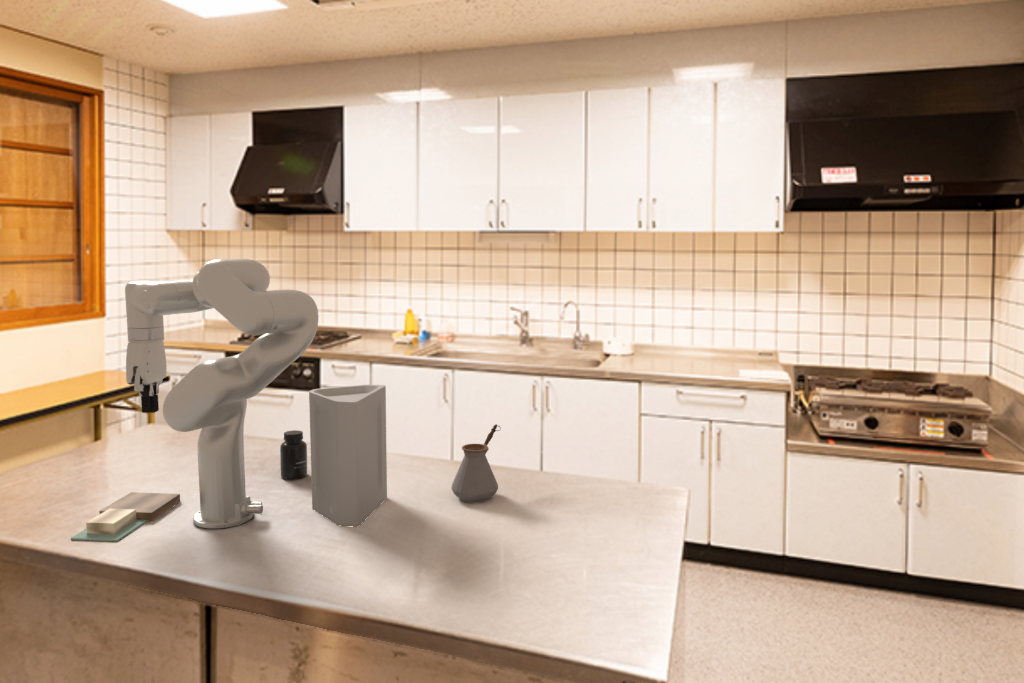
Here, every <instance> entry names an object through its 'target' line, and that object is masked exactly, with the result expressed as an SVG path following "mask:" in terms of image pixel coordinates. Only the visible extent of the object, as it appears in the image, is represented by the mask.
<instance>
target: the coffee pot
mask: <svg viewBox="0 0 1024 683" xmlns="http://www.w3.org/2000/svg"><path fill="white" fill-rule="evenodd" d="M498 427H499V429H498V430H497V428H498ZM501 429H502V427H501V426H500V425H498V424H494V425H493V426H492V428H491V429H490V432H489V433H488V434H487V437H486V439H485V440H484V443H469V444H468V443H467V444H465V445H462V446H461V450H462V451H463V454H464V456H463V458H462V460H461V463H460V465H459V468H458V469H457V472H456V475H455V477H454V478H453V481H452V484H451V491H452V492H453V494H454V495H455V496H456V497H457V498H459V500H460V501H461V502H463V501H464V503H467V504H482V503H485V502H488V501H490V500H491V498H493V496H494V495H496V494H497V491H498V490H499V484H498V482H497V480H496V477H495V475H494V473H493V469H492V467H491V466H490V463H489V461H488V458H487V456H486V454H487V453H488V451H489V446H488V445H489V444H490V442H491V440H492V438H493V437H494V434H495V432H499V431H501Z"/></svg>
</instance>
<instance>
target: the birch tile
mask: <svg viewBox="0 0 1024 683" xmlns="http://www.w3.org/2000/svg"><path fill="white" fill-rule="evenodd" d="M135 520H137V519H136V509H108V510H106V511H105V512H103V513H101V514H100V513H99V514H98V515H96V516H95V517H93V518H91V519H90V520H88V521H86V522H85V523H86V529H87V533H90V534H116V533H117V532H119V531H120V530H122V529H123V528H125V527H126V526H128V525H129V524H131V523H132V522H134V521H135Z"/></svg>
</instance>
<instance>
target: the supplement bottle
mask: <svg viewBox="0 0 1024 683" xmlns="http://www.w3.org/2000/svg"><path fill="white" fill-rule="evenodd" d="M303 433H304V432H303V431H302V430H295V429H294V430H287V431H285V432H284V433H283V442H282V443H281V444H280V447H279V448H280V449H279V451H280V453H279V454H280V455H279V458H280V459H279V460H280V477H281V478H282V479H283V480H287V479H288V480H290V481H292V480H293V481H294V479H296V480H300V479H304V478H306V476H307V475H308V445H307V443H306V442H305V441H304V435H303Z"/></svg>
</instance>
